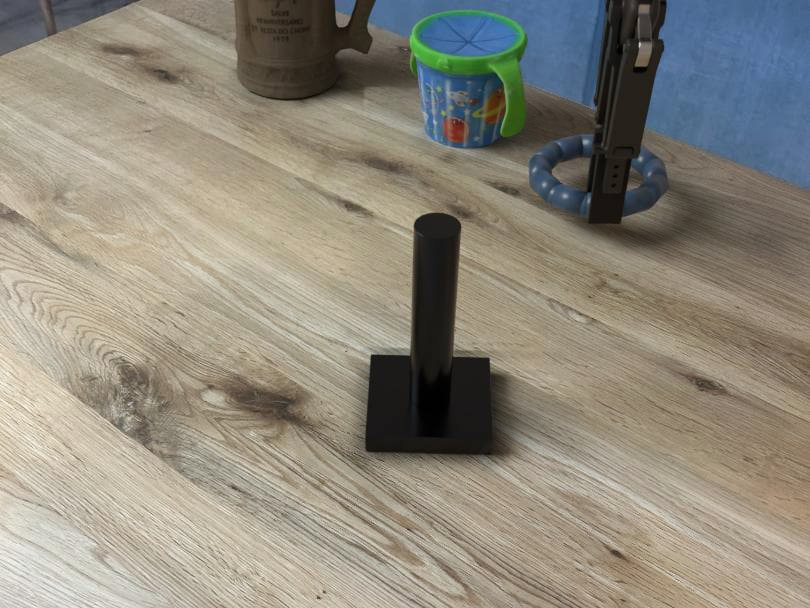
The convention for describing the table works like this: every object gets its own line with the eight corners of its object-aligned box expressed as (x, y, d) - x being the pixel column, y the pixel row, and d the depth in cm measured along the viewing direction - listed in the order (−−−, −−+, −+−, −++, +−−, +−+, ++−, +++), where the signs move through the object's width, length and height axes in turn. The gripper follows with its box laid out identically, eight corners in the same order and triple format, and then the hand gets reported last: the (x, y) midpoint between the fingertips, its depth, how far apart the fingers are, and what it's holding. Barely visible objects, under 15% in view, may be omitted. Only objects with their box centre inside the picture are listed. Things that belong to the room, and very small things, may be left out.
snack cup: (379, 113, 107) (379, 9, 99) (469, 92, 110) (476, -10, 102) (454, 188, 98) (460, 80, 90) (550, 162, 101) (564, 56, 93)
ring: (657, 153, 97) (661, 132, 95) (672, 225, 89) (676, 203, 87) (526, 149, 97) (528, 128, 95) (529, 219, 89) (531, 198, 88)
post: (488, 372, 80) (506, 188, 69) (491, 455, 75) (512, 269, 63) (370, 369, 81) (369, 185, 69) (365, 451, 75) (362, 265, 63)
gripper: (585, -135, 77) (551, 164, 94) (607, -56, 67) (564, 263, 84) (688, -134, 77) (635, 165, 94) (726, -55, 67) (658, 264, 84)
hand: (602, 211), depth 89 cm, fingers closed on ring, 2 cm apart
